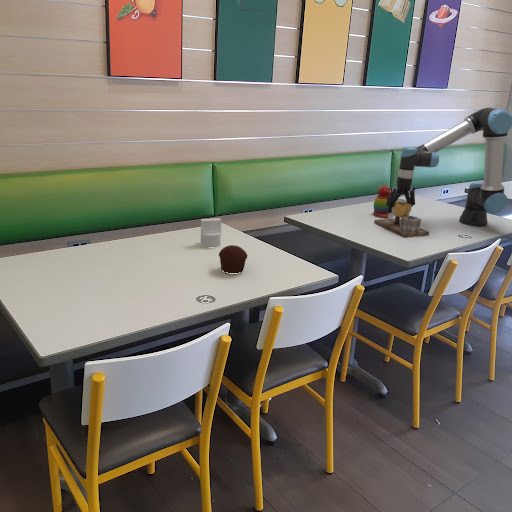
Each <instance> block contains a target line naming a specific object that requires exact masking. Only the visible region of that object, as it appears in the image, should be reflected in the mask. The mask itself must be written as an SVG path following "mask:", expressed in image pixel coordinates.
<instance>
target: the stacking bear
mask: <svg viewBox="0 0 512 512" xmlns="http://www.w3.org/2000/svg"><path fill="white" fill-rule="evenodd" d="M390 193H391V189H390V187H389V186H387V185H386V184H384V185H381V186H379V187H378V195H376V197H375V199H374V201H373V212H372V216H374V217H375V218H380V219H389V218H388V215H389V212H388V209H389V206H387V205H386V203H387V200H388V198H389V195H390Z"/></svg>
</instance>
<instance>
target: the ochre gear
mask: <svg viewBox="0 0 512 512" xmlns="http://www.w3.org/2000/svg"><path fill="white" fill-rule="evenodd" d="M399 199H400V198H398V200H397V201H396V203H395V204H394V206H393V207H394V212H393V217H396V216H398V217H399V218H400V219H401V218H402V216H408V215H409V216H410V213H409V212H411V211H410V209H411V210H412V207H411V206H412V205H411V204H408V202H407V201H406V200H405V201H401V200H399Z"/></svg>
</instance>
